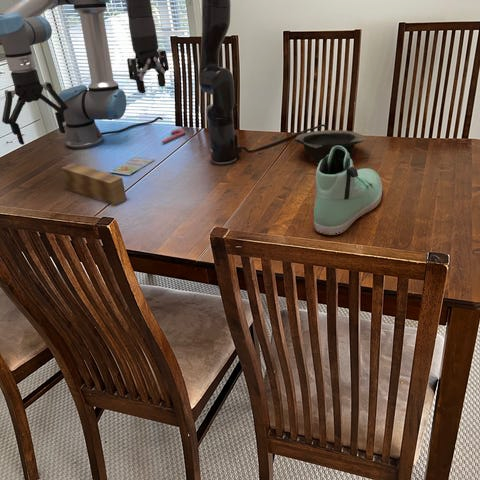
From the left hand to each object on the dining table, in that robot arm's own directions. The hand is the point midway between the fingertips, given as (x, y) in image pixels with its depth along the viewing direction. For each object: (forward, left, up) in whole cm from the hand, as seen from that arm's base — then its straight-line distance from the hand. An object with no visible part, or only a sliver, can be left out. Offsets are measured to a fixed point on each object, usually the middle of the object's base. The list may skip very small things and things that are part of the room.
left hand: (42, 138), depth 156 cm
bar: (-8, +14, -18) cm, 24 cm away
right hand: (-31, +22, +13) cm, 40 cm away
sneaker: (-58, +79, -18) cm, 100 cm away
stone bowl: (-84, +48, -18) cm, 98 cm away
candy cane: (-55, -14, -18) cm, 59 cm away
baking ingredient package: (-28, +2, -18) cm, 33 cm away
